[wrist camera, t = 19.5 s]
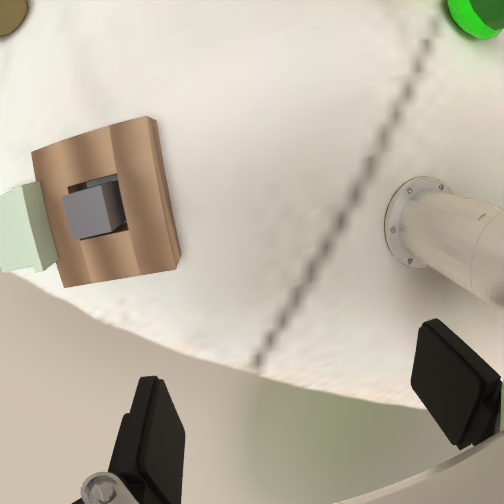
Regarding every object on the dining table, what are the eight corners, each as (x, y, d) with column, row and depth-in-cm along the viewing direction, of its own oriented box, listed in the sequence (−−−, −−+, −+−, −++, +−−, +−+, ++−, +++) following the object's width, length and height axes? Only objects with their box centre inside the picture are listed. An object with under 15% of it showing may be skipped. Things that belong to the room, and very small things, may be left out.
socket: (156, 120, 33) (146, 115, 28) (181, 254, 38) (175, 269, 33) (51, 150, 32) (31, 152, 27) (79, 272, 37) (64, 287, 32)
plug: (125, 177, 34) (100, 185, 27) (132, 215, 36) (111, 231, 28) (91, 186, 34) (61, 196, 27) (99, 222, 36) (72, 240, 28)
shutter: (39, 181, 28) (21, 185, 25) (58, 259, 31) (43, 271, 27) (-13, 200, 28) (-32, 206, 24) (5, 270, 31) (-11, 282, 27)
